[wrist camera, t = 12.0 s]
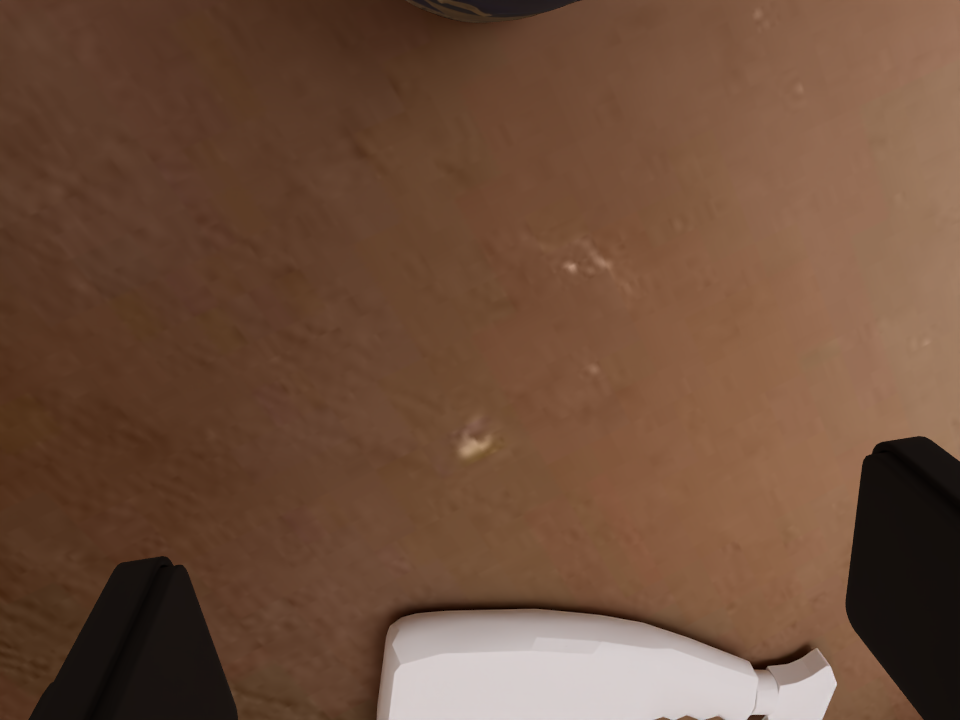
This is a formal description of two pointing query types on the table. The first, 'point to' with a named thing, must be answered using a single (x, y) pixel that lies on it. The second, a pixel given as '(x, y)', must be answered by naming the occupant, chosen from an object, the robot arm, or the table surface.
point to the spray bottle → (580, 671)
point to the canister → (488, 9)
